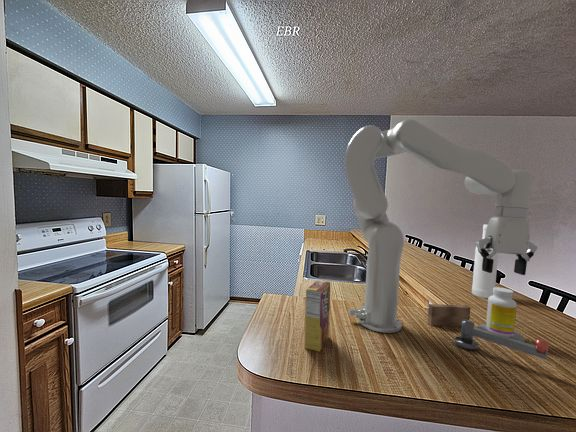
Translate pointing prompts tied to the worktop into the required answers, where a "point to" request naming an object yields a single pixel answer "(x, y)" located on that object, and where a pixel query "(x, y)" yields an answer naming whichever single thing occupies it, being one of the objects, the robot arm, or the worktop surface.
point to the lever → (498, 340)
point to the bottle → (483, 274)
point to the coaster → (516, 337)
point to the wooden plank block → (447, 314)
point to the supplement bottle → (501, 312)
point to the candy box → (317, 315)
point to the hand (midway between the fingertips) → (503, 272)
